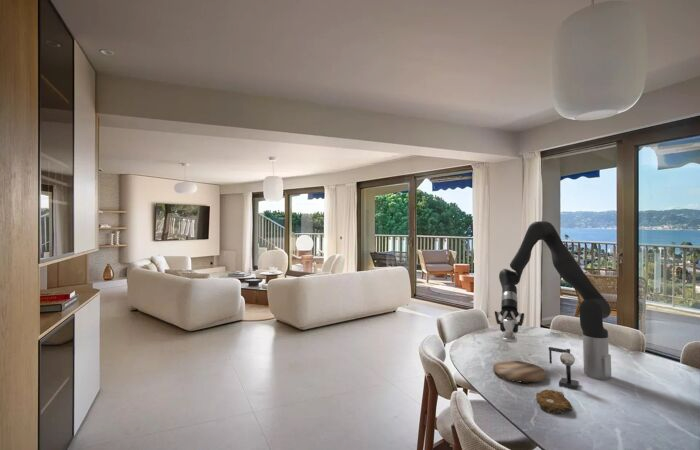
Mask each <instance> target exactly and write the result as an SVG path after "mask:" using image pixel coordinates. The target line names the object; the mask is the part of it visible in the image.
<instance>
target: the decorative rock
mask: <svg viewBox="0 0 700 450" xmlns="http://www.w3.org/2000/svg"><path fill="white" fill-rule="evenodd" d="M535 395H536V399H535V400H536V402H537V404H538V405H539V407H540V409H541V410H543V411H546V412H548V411H549V412H548V413H549V414H550V413H552V415H553V414H554V413H555V414H556V415H558V414H559V412H560V414H562V412H563V414H564V413H565V412H568V411H570V412H573V405H572V403H571V402H570V401H569V399H567V397H565V394H564V393H563V392H562V391H557V390H553V389H544V390H541V391H540V392H537V393H536V394H535Z"/></svg>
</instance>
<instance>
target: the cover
mask: <svg viewBox="0 0 700 450" xmlns="http://www.w3.org/2000/svg"><path fill="white" fill-rule="evenodd" d="M503 330H504V332H503V335H502V337H501V341H503V342H506V343H517V342H518V338H517V337H516V333H515V320H514V319H511V317H506V319H503Z"/></svg>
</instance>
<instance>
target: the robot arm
mask: <svg viewBox="0 0 700 450" xmlns="http://www.w3.org/2000/svg"><path fill="white" fill-rule="evenodd" d="M525 232H526V233H525V235H524V237H523V240H522V242H521V243H520V246H519V248H518V250H517V252H516V253H515V255H514V257H513V258H512V260H511V261H510V263H509V267H510V268H511V270H510V269H508V268H502V269H501V270H500V271H499V275H498V279H499V282H500V285H501V289H502V290H501V291H502V292H501V305H500V306H501V309H500V311H497V310H494V317H495V322H496V324H497V325H499V326H500V327H499V329H500V331H501V333H504V330H503V319H506V317H511V319H514V320H515V334H517V333H518V332H519V326H520V327H521V326H523V323H524V319H525V312H522V313H520V312H519V311H518V309H519V308H518V289H517V285H518V284H519V283H520V281H521V278H522V274H523V272H524V270H525V268H526V266H527V265H528V263H529V262H530V260H531V257H532V252H533V248H534V246H536V244H537V243H538V242H539V241H543V242H544V243H545V244H546V246H547V247H548V249H549V250H550V254H551V261H552V266H553V267H554V268H555V270H556V271H557V273H558V274H559V276H560V277H561V278H562V280H563V281H565V282H566V284H568V285H569V286H571V287H572V288H573V289H574V290H575V291H577V292H578V294H579V295H580V296H581V298H582V299H583V300H582V301H581V302H580V304H579V309H578V310H579V313H578V314H579V315H578V316H579V324H580V325H579V326H580V328H581V330H582V349H583V352H582V353H583V355H582V356H583V374H584V376H587V377H590V378H592V379H595V380H603V381H607V380H608V379H610V378H612V355H611V354H610V351H609V332H608V330H607V329H606V328H605V327H604V320H603V319H607V318H609V317H610V315H611V313H612V312H611V311H612V309H611V305H610V303H609V302H608V301H607V299H606V298H605V297H604V296H603V295H602V293H600V292H599V290H597V288H596V287H595V286H594V285H593V283H592V281H591V280H590V279H589V278H588V275H586V273H585V272H584V271H583V269H582V267H581V266H580V264H579V263H578V261H577V260H576V259H575V257H574V256H573V255H572V253H571V252H570V250H569V248H567V246H566V245H565V243H564V242H563V241H562V239H561V237H560V235H559V233H558V232H557V230H556V228H555V226H554V225H553V224H552V223H551V222H549V221H543V220H541V221H539V220H538V221H533V222H531V223H530V224H529V226H528V227H527V231H525ZM500 316H501V319H499V317H500ZM518 317H519V320H517V318H518Z"/></svg>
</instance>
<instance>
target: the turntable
mask: <svg viewBox="0 0 700 450" xmlns="http://www.w3.org/2000/svg"><path fill="white" fill-rule="evenodd" d="M492 367H493V372H494V373H495V375H498V376H499V377H501V378H503V377H504V378H503V379H505V378H506V379H505V380H508V379H510V380H509V381H511V380H514V381H513V382H515V381H521V382H520V383H522V382H533V383H538V382H542V381H544V380H545V379H546V378H547V372H546V370H545V369H544V368H543V367H541V366H539V365H536V364H533V363H529V362H526V361H521V360H501V361H497V362H495V363H494V364H493V366H492Z"/></svg>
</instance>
